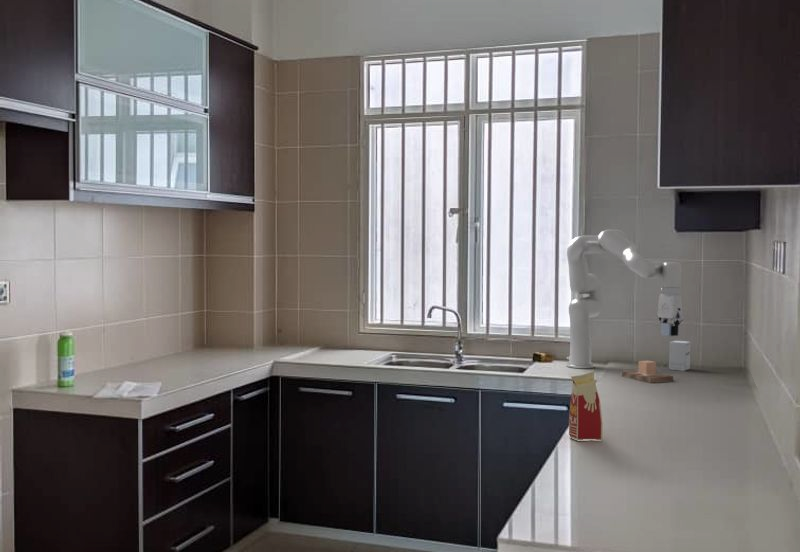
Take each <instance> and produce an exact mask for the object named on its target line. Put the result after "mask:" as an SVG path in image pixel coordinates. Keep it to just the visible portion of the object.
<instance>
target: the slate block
mask: <svg viewBox="0 0 800 552" xmlns="http://www.w3.org/2000/svg"><path fill="white" fill-rule="evenodd" d="M671 326H673V325H672V322H668V323H660V336H666V337H673V336H672V335H671ZM679 327H680V325H679V326H678V335H675V336H674V337H679V331H680V329H679Z"/></svg>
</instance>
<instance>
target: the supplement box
mask: <svg viewBox="0 0 800 552" xmlns="http://www.w3.org/2000/svg"><path fill="white" fill-rule="evenodd" d="M668 352H669V354H668V355H669V357H668V358H669V359H668V369H669V370H671V371H672V370H673V371H680V372H686V371H687V370H690V369H691V341H689V340H688V341H686V340H685V341H684V340H673V341H669V351H668Z"/></svg>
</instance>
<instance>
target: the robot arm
mask: <svg viewBox="0 0 800 552" xmlns="http://www.w3.org/2000/svg"><path fill="white" fill-rule="evenodd" d="M566 250H567V251H566V257H567V262H568V276H569V277H568V278H569V279H568V280H569V287H570V288H569V289H570V291H571V293H572V294H575V295H581V296H582V297H576V298H574V299H572V300H571V301H570V303H569V305H568V315H569V325H570V329H569V333H570V335H569V336H570V337H569V356H567V357H566V359H567V360H568V362H566V363H565V365H566V367H568V368H571V369H573V368H574V369H593V368H595V364H594V363H592V335H593V334H592V332H593V331H592V322H591V320H590V318H595V317H597V316H599V314H601V312H602V308H603V304H602V302H603V301H602V290H601V282H600V280H599V278H598V277H597V276H596V275H595V274H594V273H589V269H588V268H589V266H588V261H587V258H586V257H585V256H586V255H597V254H602V253H607V252H610V253H611V254H613V255H614V256H616V257H617V258H619V259H620V260H621V261H623V263H624V264H625V266H626V267H627V268H628V270H631V271H632V272H634V273H635V274H637V275H638V276H640V277H641V278H644V279H647V280H648V279H661V289H660V290H661V293H660V294H659V297H658V304H657V314H656V317H657V318H658V320H659V322H660V324H661V323H669V322H668V321H669V320H671V323H672V325H673V326H671V335H672V336H671V337H676V336H675V335H678V336H679V334H678V326H679V327H680V324H681V323H682V322H683V321H684V319H685V318H684V316H683V303H682V302H683V301H682V295H681V287H682V286H681V284H682V264H681V263H680V262H679V261H678V262H677V261H663V260H648V259H646V258H645V257H643V256H641V255H640V254H639V253H638V252H637V251H636V250H637V246H636V245H635V243H633V242H632V241H630V240H628V239H627V235H626V234H625V232H624V231H622V230H620V229H609V228H608V229H604V230H602V231H600V233H599V234H597V235H587V234H586V235H578V236H576V237H574V238H573V239H572V240H570V242H569V243H568V245H567V249H566Z"/></svg>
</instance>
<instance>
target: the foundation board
mask: <svg viewBox="0 0 800 552" xmlns="http://www.w3.org/2000/svg"><path fill="white" fill-rule="evenodd" d="M624 376H626V377H625V378H628V377H630V378H629V379H632V378H634V379H633V380H636V379H637V381H640V380H641V381H640V382H644V381H645V383H648V382H649V383H650V384H654V382H656V383H665V382H674V376H673V375H671V374H670V375H669V374H665V373H660V372H657V371H656V374H649V375H645V374H641V373H638V369H635V370H622V371H621V377H624Z"/></svg>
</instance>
